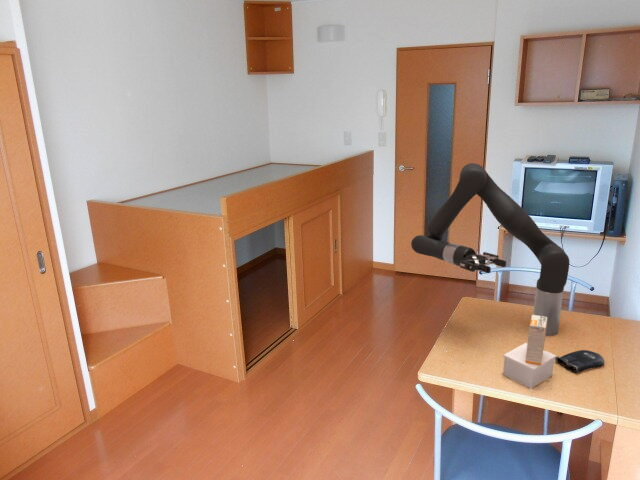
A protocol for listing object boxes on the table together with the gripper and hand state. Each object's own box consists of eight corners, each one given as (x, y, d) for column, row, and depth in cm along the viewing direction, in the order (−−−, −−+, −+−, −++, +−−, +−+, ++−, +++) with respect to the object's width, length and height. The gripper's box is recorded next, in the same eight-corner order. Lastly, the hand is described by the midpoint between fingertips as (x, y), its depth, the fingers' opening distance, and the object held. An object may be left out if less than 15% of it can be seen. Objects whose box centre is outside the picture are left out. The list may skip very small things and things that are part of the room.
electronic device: (578, 381, 159) (611, 364, 164) (576, 365, 158) (609, 349, 163) (554, 370, 168) (586, 354, 173) (553, 355, 167) (585, 340, 172)
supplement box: (541, 366, 152) (546, 328, 148) (524, 362, 154) (529, 324, 150) (543, 353, 159) (547, 316, 155) (527, 350, 161) (531, 313, 157)
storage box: (523, 361, 168) (526, 342, 166) (553, 375, 160) (556, 355, 158) (501, 374, 161) (503, 354, 159) (531, 389, 153) (534, 369, 151)
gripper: (446, 249, 173) (485, 261, 161) (471, 241, 181) (511, 252, 169) (445, 269, 176) (484, 283, 163) (470, 260, 184) (509, 272, 171)
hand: (497, 267), depth 166 cm, fingers open, 8 cm apart
